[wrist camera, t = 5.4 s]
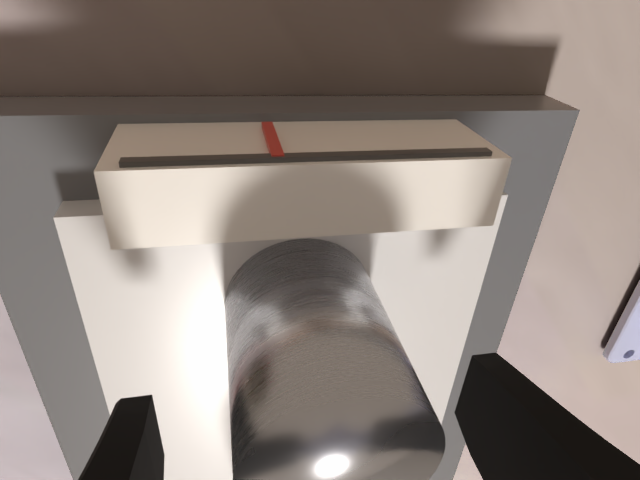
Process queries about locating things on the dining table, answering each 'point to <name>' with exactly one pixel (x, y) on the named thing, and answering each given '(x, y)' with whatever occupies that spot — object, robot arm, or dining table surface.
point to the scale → (256, 239)
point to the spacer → (321, 373)
